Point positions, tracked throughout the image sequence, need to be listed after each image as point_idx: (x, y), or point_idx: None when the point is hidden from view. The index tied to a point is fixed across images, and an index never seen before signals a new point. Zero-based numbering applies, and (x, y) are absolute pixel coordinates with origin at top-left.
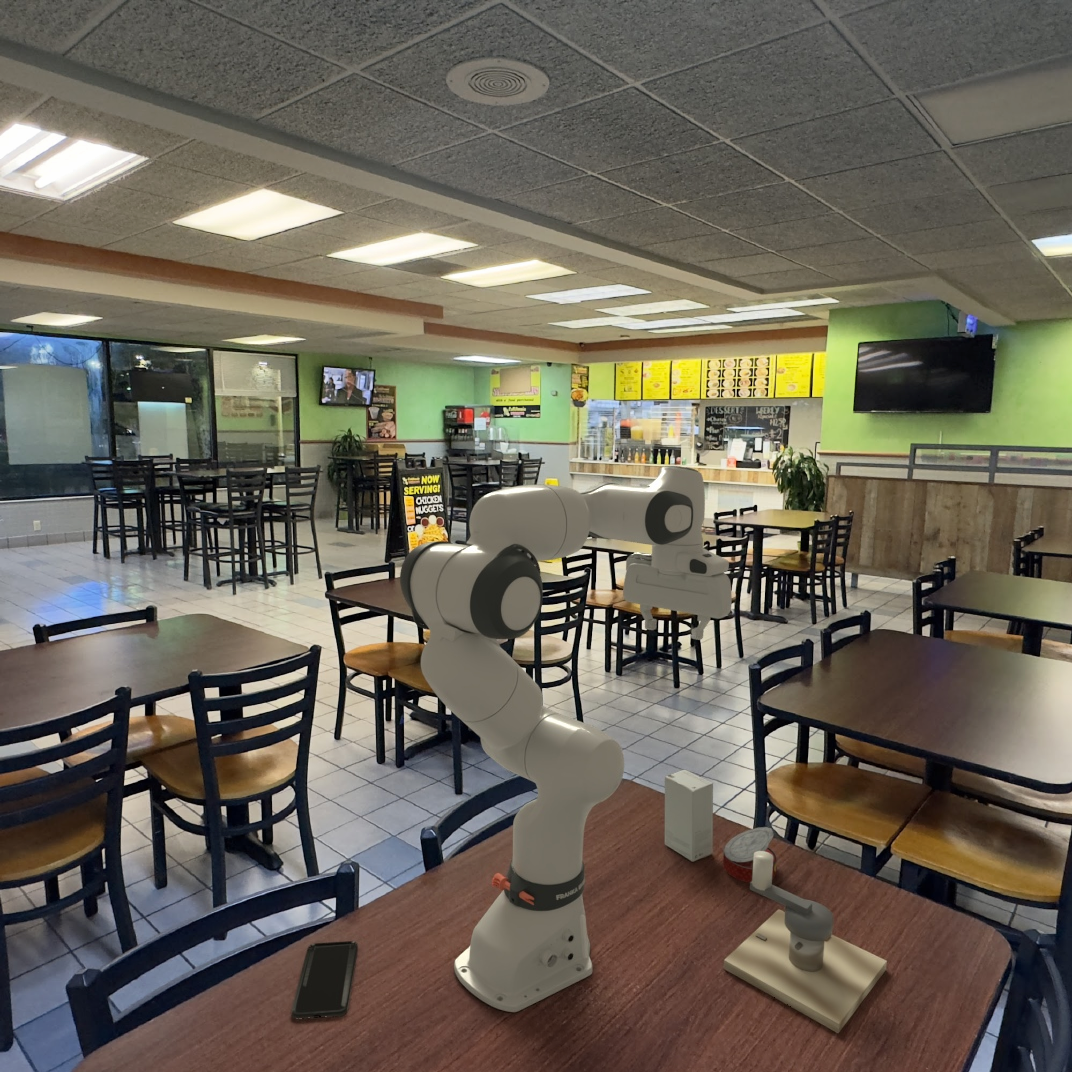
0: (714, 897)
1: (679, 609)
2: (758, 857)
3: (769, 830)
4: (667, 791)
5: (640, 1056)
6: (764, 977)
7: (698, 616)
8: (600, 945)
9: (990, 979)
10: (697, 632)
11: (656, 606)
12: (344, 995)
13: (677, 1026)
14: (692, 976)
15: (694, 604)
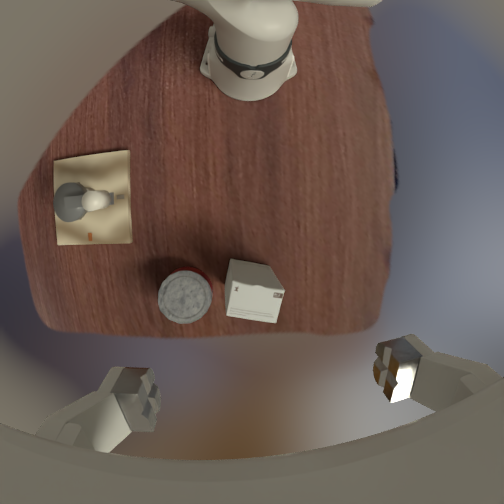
0: (183, 225)
1: (184, 470)
2: (91, 194)
3: (170, 316)
4: (275, 282)
5: (134, 50)
6: (99, 158)
7: (69, 444)
8: (216, 98)
9: (30, 282)
10: (106, 384)
11: (418, 421)
12: None
13: (127, 82)
14: (142, 125)
15: (36, 493)
